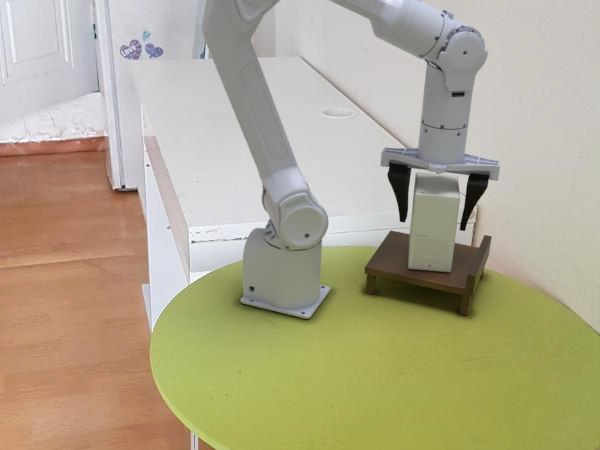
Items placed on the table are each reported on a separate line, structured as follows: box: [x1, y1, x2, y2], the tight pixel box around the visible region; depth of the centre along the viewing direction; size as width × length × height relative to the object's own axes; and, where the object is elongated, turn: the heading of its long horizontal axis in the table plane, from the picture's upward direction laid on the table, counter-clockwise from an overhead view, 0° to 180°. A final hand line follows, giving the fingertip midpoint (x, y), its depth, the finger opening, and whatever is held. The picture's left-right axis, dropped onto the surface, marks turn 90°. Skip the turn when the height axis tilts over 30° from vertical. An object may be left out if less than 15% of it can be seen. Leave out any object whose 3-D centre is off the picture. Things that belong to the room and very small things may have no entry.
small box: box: [408, 171, 461, 272], centre depth 97 cm, size 8×6×10 cm
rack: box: [363, 230, 493, 317], centre depth 100 cm, size 14×12×6 cm
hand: (432, 223), depth 97 cm, fingers open, 7 cm apart
